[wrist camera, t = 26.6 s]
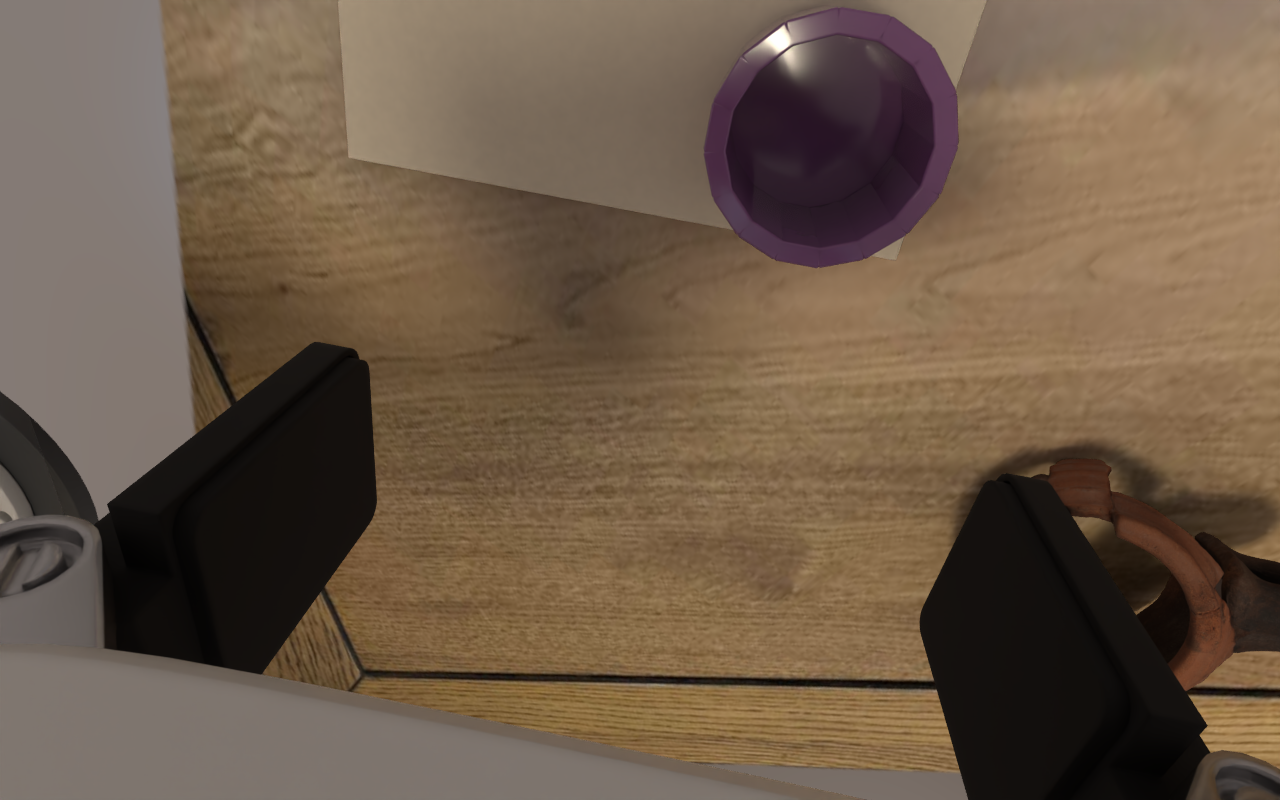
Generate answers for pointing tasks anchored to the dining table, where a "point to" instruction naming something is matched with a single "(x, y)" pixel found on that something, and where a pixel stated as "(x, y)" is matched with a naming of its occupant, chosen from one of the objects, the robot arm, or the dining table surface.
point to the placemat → (573, 89)
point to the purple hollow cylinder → (830, 135)
